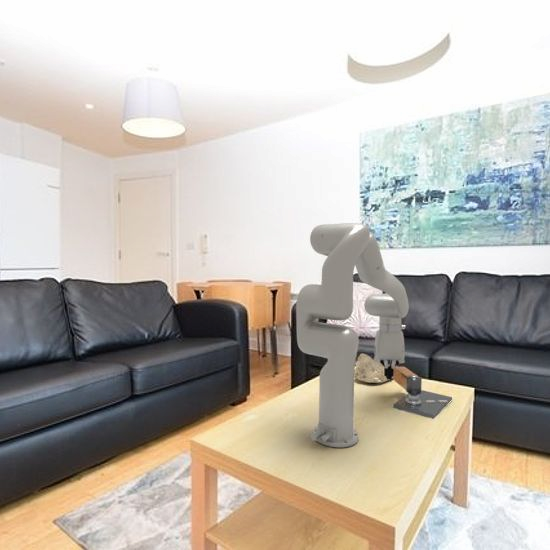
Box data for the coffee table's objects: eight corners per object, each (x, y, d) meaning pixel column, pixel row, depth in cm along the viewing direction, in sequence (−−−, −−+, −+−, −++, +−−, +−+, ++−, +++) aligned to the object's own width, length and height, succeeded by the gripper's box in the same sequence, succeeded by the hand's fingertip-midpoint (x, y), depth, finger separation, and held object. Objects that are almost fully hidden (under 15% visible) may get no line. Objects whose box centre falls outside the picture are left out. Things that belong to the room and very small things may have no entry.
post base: (434, 418, 120) (434, 404, 120) (393, 407, 128) (393, 394, 128) (453, 400, 135) (453, 388, 135) (415, 391, 144) (415, 379, 143)
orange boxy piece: (423, 394, 128) (424, 377, 127) (409, 394, 127) (410, 378, 127) (405, 379, 142) (405, 364, 142) (392, 379, 142) (393, 365, 142)
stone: (368, 344, 178) (401, 345, 170) (371, 364, 180) (404, 367, 172) (346, 371, 154) (383, 374, 146) (349, 395, 155) (386, 399, 147)
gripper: (408, 326, 140) (407, 375, 141) (367, 325, 141) (366, 374, 142) (414, 330, 132) (412, 382, 133) (370, 329, 134) (369, 381, 135)
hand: (388, 378), depth 138 cm, fingers closed
